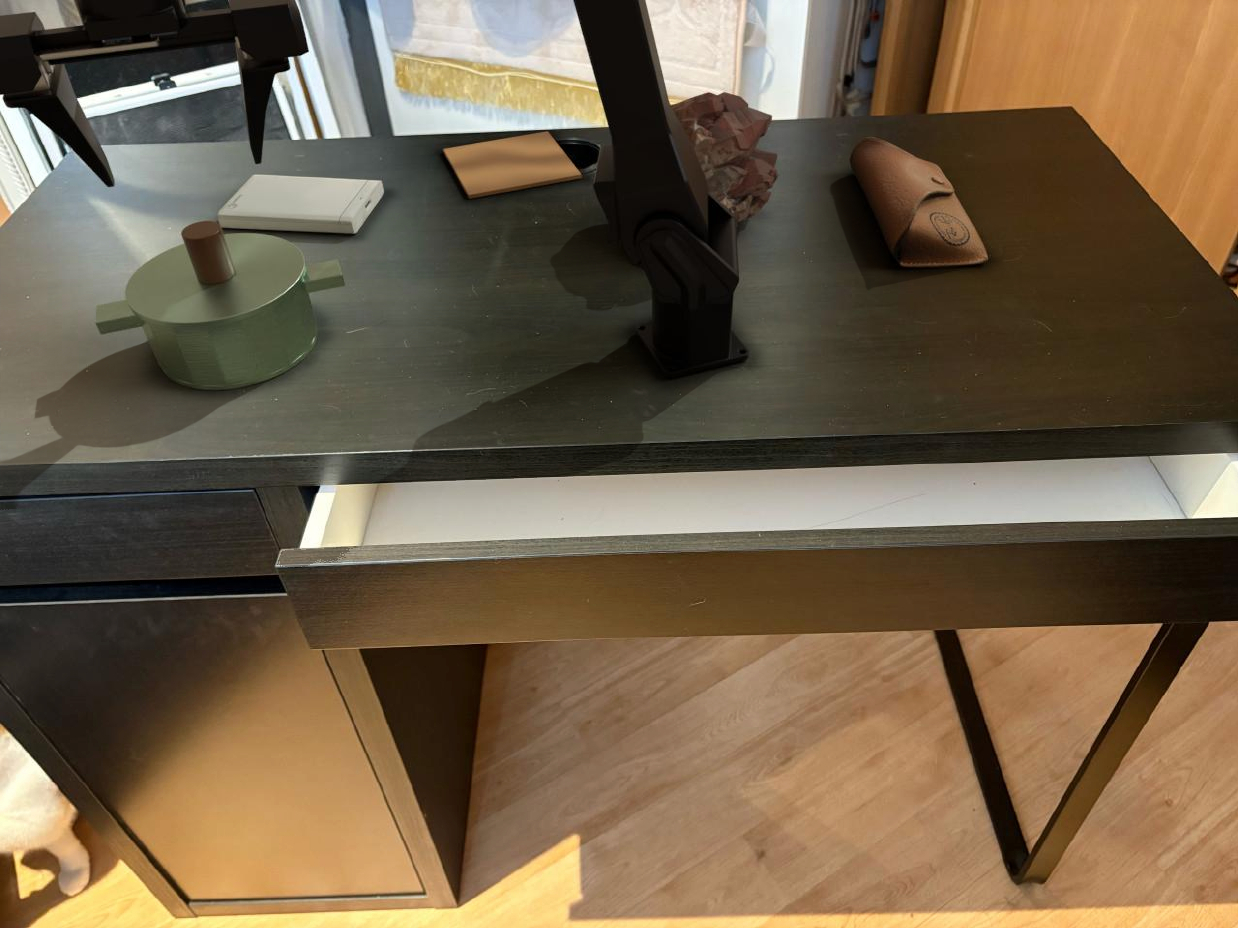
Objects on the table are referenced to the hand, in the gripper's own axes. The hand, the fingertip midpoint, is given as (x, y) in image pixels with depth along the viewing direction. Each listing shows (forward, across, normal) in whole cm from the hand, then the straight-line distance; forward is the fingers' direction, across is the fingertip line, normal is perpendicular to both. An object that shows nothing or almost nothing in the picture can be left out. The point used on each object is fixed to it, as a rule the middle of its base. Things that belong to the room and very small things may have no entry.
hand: (186, 173), depth 63 cm
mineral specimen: (+13, -39, -2) cm, 41 cm away
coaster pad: (+13, -27, -21) cm, 37 cm away
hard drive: (+13, -7, -19) cm, 24 cm away
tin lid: (+8, 0, +1) cm, 8 cm away
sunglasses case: (+13, -57, +3) cm, 58 cm away
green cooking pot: (+13, 0, +1) cm, 13 cm away
